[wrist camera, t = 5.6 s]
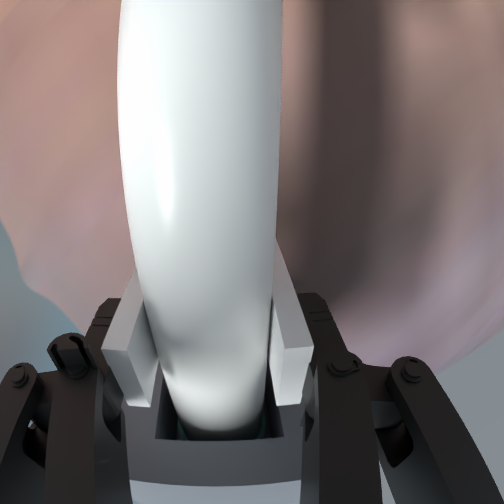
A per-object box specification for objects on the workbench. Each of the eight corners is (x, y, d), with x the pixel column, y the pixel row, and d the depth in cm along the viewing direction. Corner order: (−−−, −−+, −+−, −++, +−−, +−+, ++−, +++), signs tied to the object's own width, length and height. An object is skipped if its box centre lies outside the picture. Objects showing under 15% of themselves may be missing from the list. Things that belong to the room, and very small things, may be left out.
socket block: (150, 284, 19) (100, 474, 7) (286, 280, 19) (345, 471, 8) (165, 347, 21) (144, 507, 10) (280, 344, 22) (314, 503, 11)
